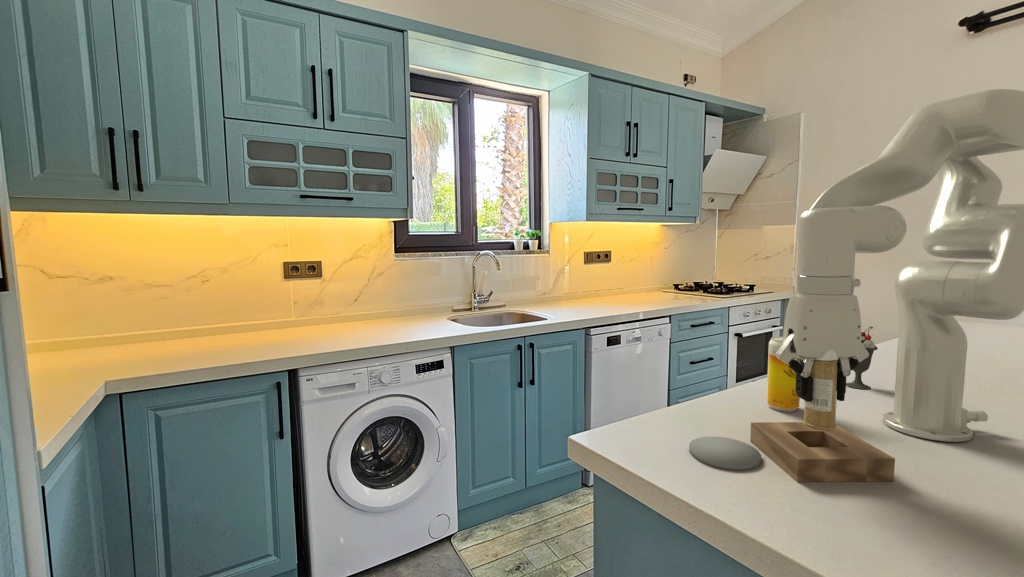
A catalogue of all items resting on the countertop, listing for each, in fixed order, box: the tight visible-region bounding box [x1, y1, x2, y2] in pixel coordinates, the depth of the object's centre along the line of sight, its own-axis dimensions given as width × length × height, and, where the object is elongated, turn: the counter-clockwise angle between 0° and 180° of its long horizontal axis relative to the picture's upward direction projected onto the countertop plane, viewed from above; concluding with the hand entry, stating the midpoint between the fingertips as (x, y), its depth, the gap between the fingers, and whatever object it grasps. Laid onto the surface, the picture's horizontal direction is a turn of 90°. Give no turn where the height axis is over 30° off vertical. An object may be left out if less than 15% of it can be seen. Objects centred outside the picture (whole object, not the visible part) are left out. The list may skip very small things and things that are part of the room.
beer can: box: [766, 336, 801, 413], centre depth 99 cm, size 6×6×15 cm
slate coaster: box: [688, 435, 762, 471], centre depth 79 cm, size 11×11×1 cm
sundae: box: [846, 326, 878, 390], centre depth 113 cm, size 7×7×15 cm
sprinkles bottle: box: [802, 350, 839, 431], centre depth 75 cm, size 5×5×14 cm
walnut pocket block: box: [749, 421, 896, 483], centre depth 76 cm, size 14×14×4 cm
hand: (820, 397), depth 76 cm, fingers closed on sprinkles bottle, 4 cm apart
